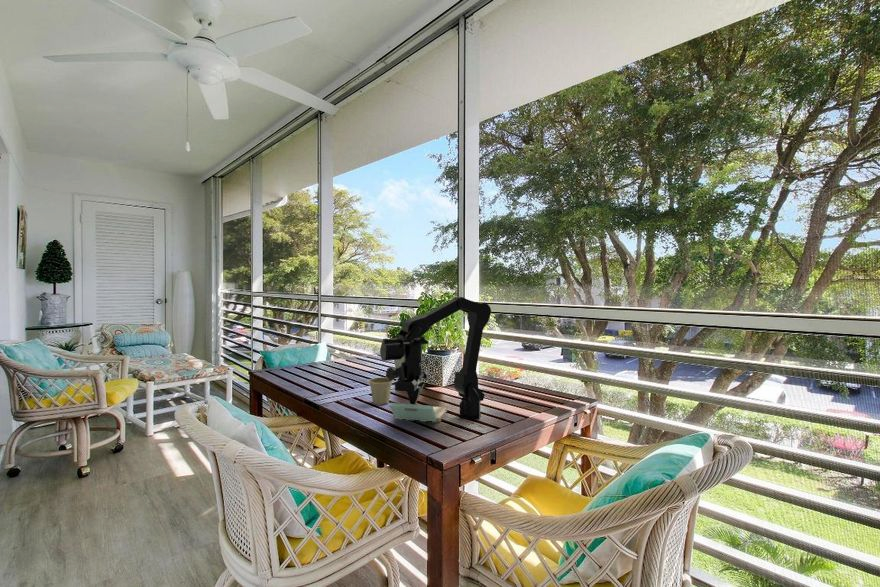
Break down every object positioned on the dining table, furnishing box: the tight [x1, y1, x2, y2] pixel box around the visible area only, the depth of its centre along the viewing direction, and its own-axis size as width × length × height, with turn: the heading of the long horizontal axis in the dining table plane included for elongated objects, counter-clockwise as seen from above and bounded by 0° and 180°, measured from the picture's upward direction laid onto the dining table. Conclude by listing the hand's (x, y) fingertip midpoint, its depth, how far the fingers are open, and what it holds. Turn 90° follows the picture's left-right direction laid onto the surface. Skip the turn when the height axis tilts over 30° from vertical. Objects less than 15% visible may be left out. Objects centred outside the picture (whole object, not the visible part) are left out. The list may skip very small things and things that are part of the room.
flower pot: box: [368, 377, 394, 405], centre depth 161 cm, size 9×9×9 cm
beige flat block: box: [392, 406, 448, 423], centre depth 146 cm, size 16×12×2 cm
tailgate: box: [389, 402, 436, 421], centre depth 137 cm, size 14×2×8 cm
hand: (413, 406), depth 136 cm, fingers closed
